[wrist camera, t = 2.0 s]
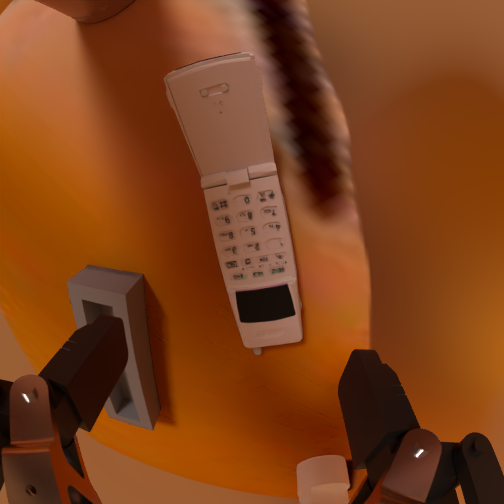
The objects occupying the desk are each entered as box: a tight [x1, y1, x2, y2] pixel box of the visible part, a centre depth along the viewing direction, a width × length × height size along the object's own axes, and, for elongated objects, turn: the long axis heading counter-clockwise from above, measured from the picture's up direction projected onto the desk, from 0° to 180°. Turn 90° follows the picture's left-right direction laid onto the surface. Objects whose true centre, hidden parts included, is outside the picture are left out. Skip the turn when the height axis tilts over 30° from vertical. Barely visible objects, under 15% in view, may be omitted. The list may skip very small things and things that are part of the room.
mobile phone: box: [163, 52, 303, 355], centre depth 20 cm, size 6×6×25 cm
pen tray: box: [67, 265, 161, 430], centre depth 27 cm, size 21×6×4 cm, turn 173°
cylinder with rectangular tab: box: [296, 455, 350, 504], centre depth 32 cm, size 9×9×12 cm
